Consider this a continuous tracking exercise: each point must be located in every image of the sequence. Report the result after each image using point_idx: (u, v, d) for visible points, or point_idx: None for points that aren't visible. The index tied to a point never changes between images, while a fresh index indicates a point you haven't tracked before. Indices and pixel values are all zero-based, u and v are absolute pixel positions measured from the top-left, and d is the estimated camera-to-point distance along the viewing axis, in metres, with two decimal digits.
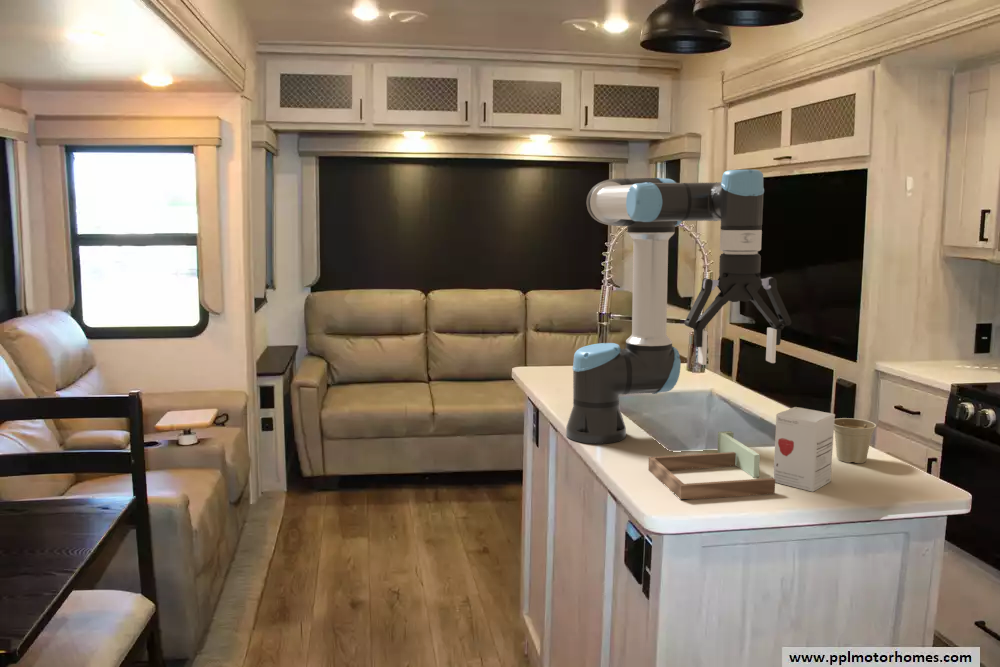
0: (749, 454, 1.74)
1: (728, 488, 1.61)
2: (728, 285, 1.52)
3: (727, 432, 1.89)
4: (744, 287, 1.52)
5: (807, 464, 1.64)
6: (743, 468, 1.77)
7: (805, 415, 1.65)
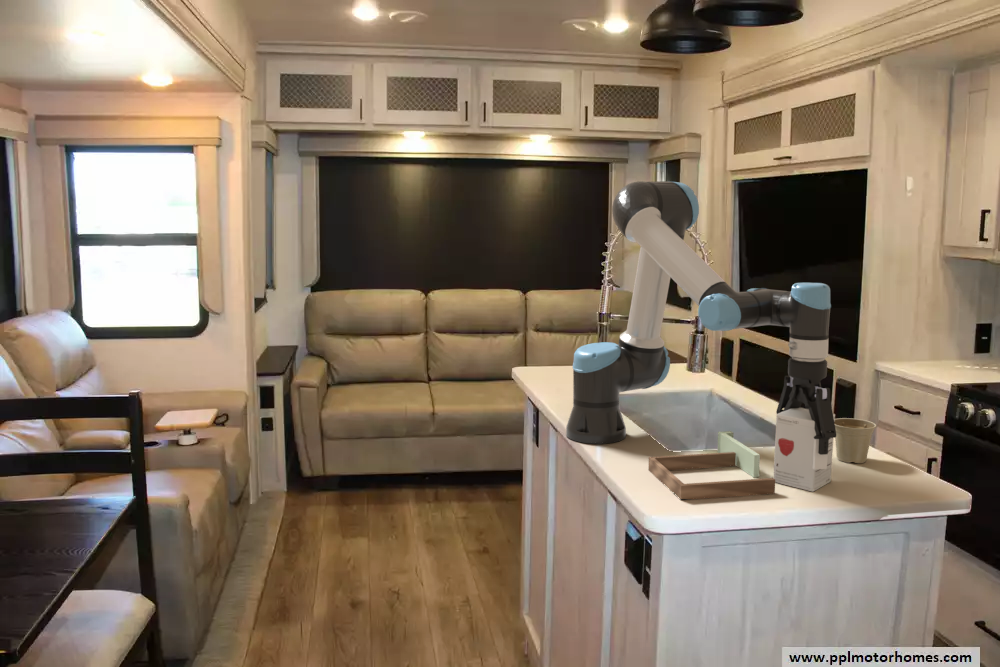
0: (749, 454, 1.74)
1: (728, 488, 1.61)
2: (795, 384, 1.69)
3: (727, 432, 1.89)
4: None
5: (807, 464, 1.64)
6: (743, 468, 1.77)
7: (805, 415, 1.65)
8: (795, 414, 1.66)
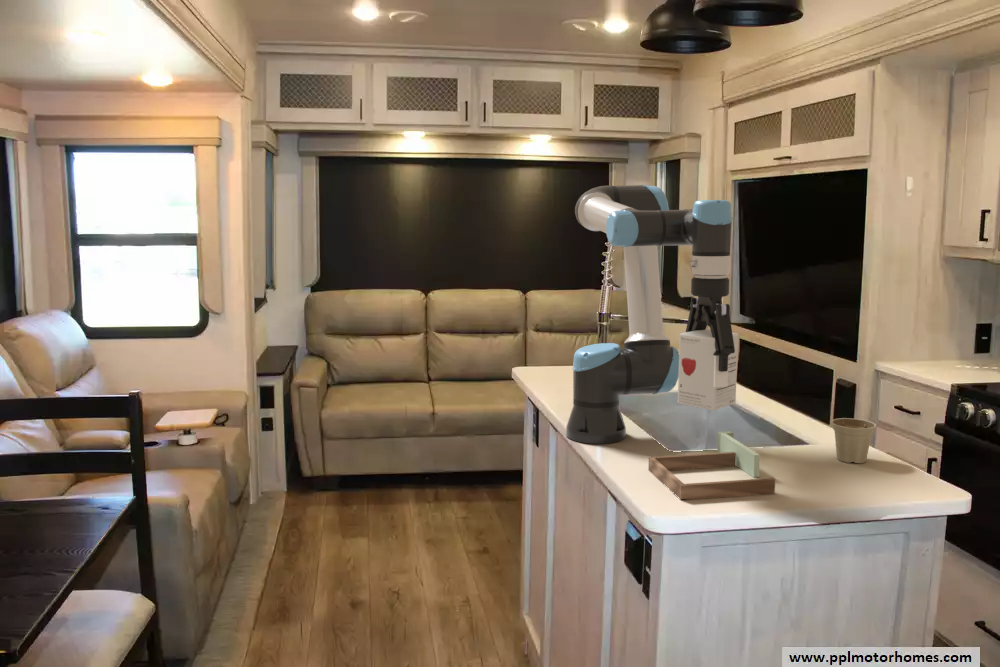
0: (749, 454, 1.74)
1: (728, 488, 1.61)
2: None
3: (727, 432, 1.89)
4: None
5: (708, 383, 1.62)
6: (743, 468, 1.77)
7: (708, 334, 1.64)
8: (698, 333, 1.65)
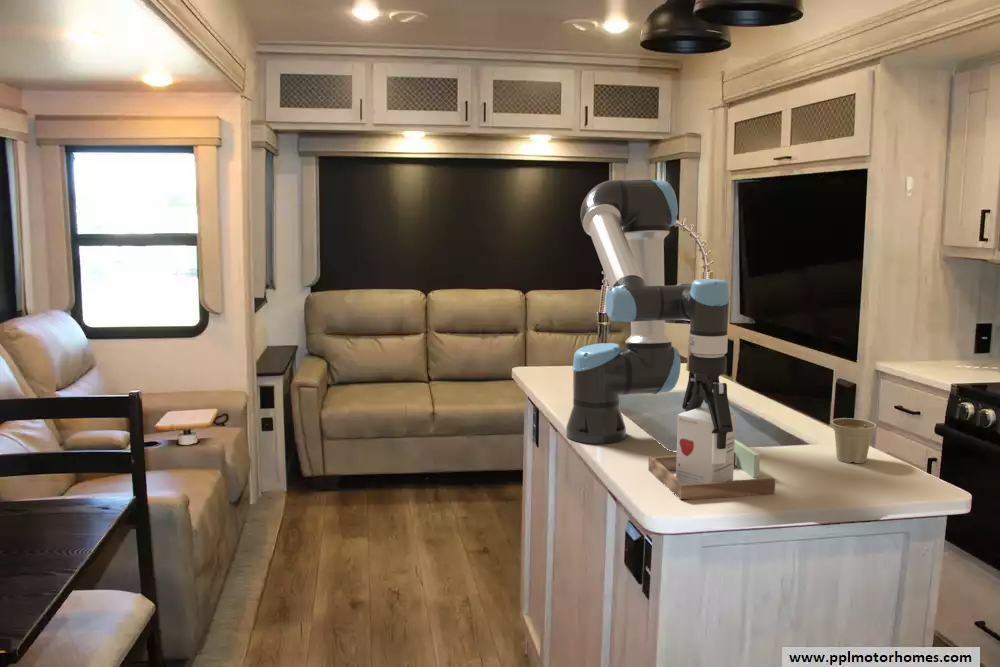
0: (749, 454, 1.74)
1: (728, 488, 1.61)
2: (697, 380, 1.69)
3: None
4: None
5: (706, 464, 1.64)
6: (743, 468, 1.77)
7: (705, 415, 1.66)
8: (696, 414, 1.67)
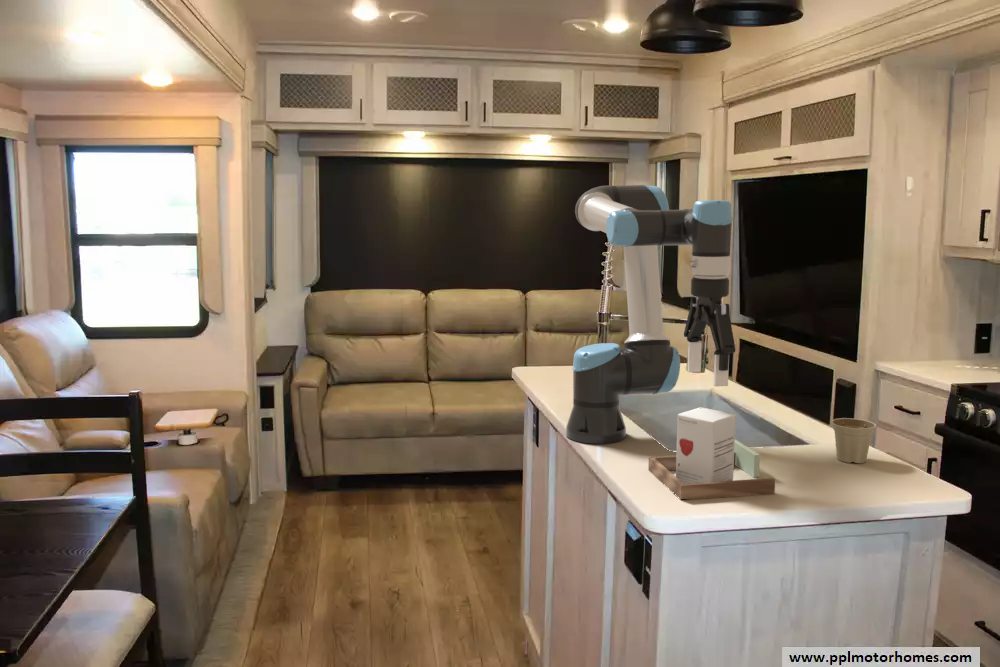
0: (749, 454, 1.74)
1: (728, 488, 1.61)
2: (699, 305, 1.67)
3: None
4: None
5: (705, 464, 1.64)
6: (743, 468, 1.77)
7: (705, 415, 1.66)
8: (695, 414, 1.67)
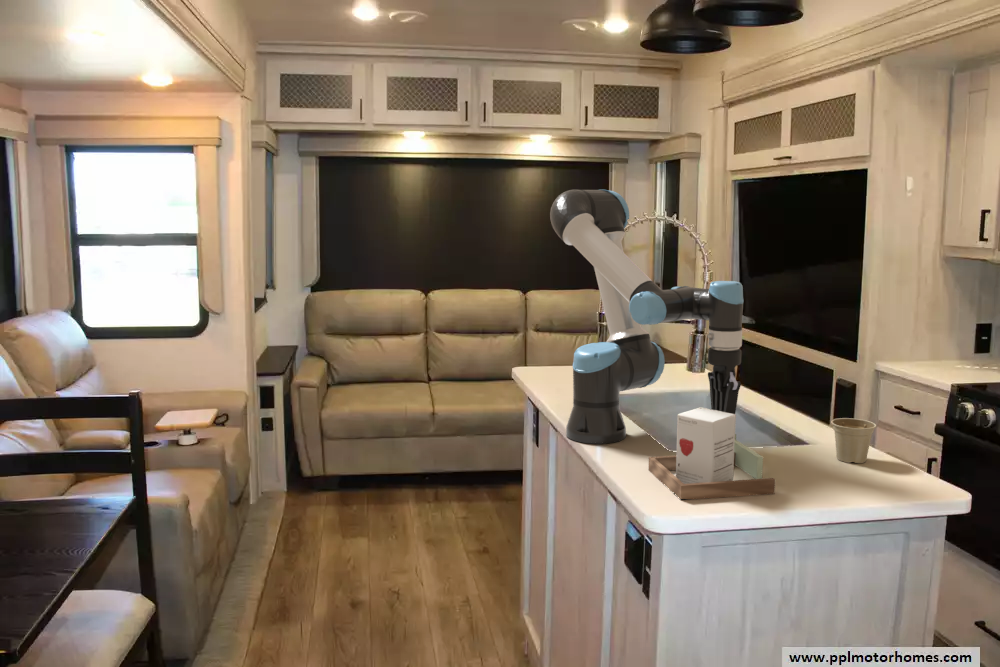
0: (752, 456, 1.73)
1: (728, 488, 1.61)
2: (715, 369, 1.90)
3: None
4: None
5: (705, 464, 1.64)
6: (746, 470, 1.76)
7: (705, 415, 1.66)
8: (695, 414, 1.67)
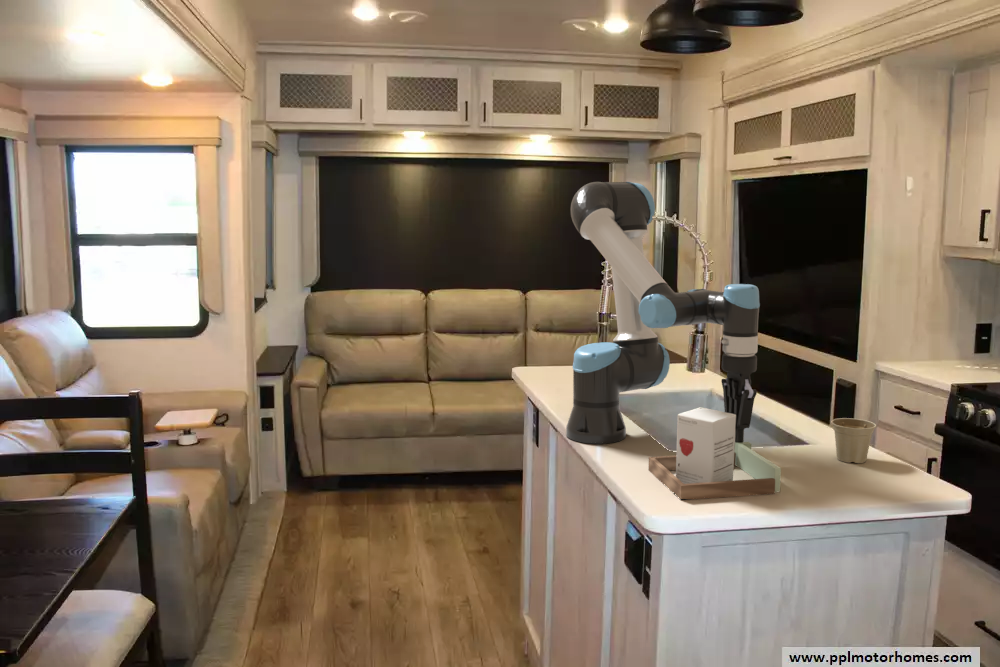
0: (769, 468, 1.65)
1: (728, 488, 1.61)
2: (729, 376, 1.83)
3: (744, 443, 1.81)
4: None
5: (705, 464, 1.64)
6: None
7: (705, 415, 1.66)
8: (695, 414, 1.67)
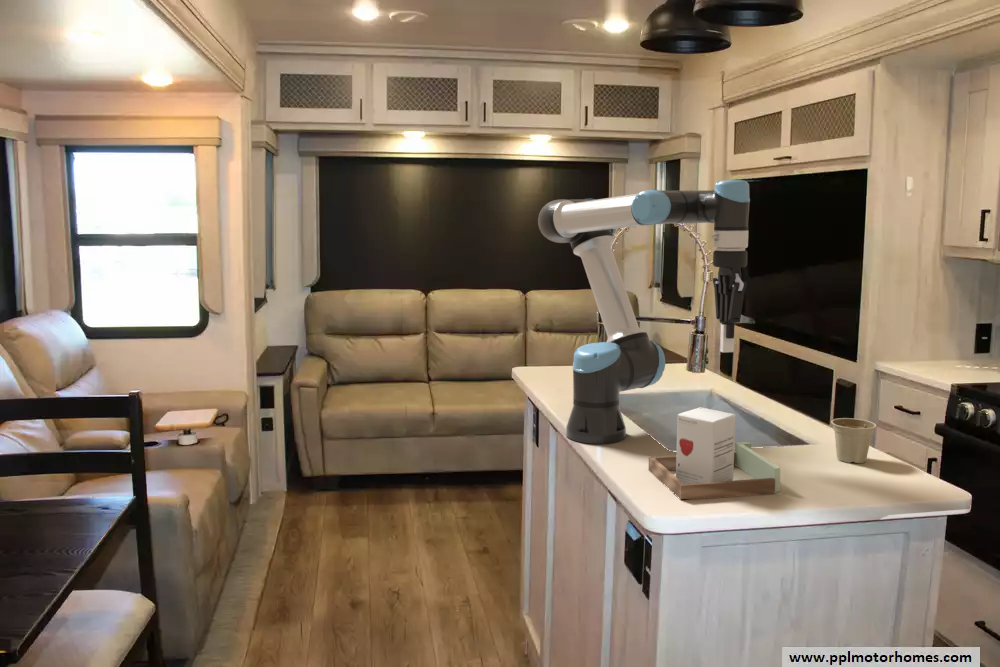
0: (769, 467, 1.65)
1: (728, 488, 1.61)
2: (720, 273, 1.86)
3: (744, 443, 1.81)
4: None
5: (705, 464, 1.64)
6: None
7: (705, 415, 1.66)
8: (695, 414, 1.67)
